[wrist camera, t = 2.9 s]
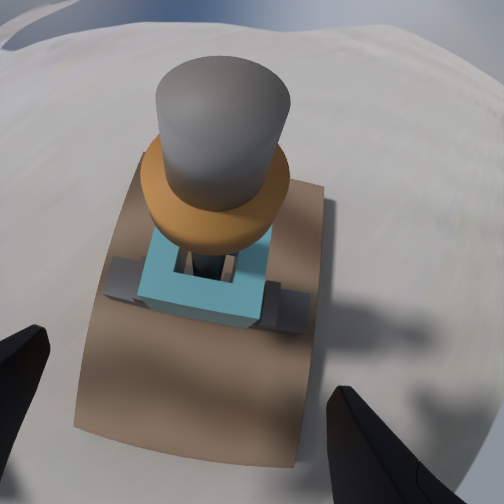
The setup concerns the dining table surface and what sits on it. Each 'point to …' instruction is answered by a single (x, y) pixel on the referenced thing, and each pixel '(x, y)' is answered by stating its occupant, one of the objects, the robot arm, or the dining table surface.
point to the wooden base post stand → (210, 267)
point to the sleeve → (205, 284)
